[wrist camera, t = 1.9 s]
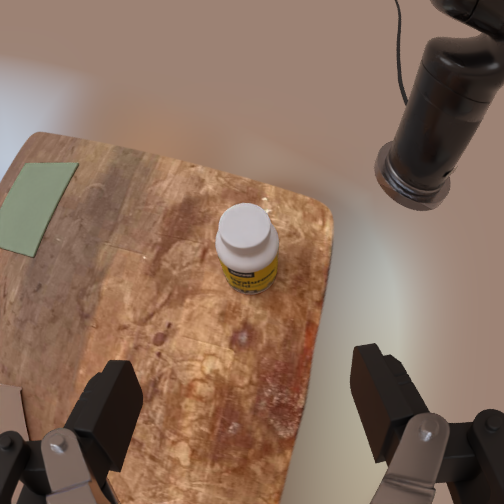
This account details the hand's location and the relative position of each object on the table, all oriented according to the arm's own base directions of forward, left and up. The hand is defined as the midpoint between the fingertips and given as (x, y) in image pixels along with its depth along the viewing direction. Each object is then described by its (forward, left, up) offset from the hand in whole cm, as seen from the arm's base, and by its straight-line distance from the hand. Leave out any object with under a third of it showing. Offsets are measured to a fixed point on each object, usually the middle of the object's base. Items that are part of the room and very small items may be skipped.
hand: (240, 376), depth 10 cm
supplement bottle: (-10, -6, -20) cm, 23 cm away
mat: (-3, -42, -19) cm, 47 cm away
